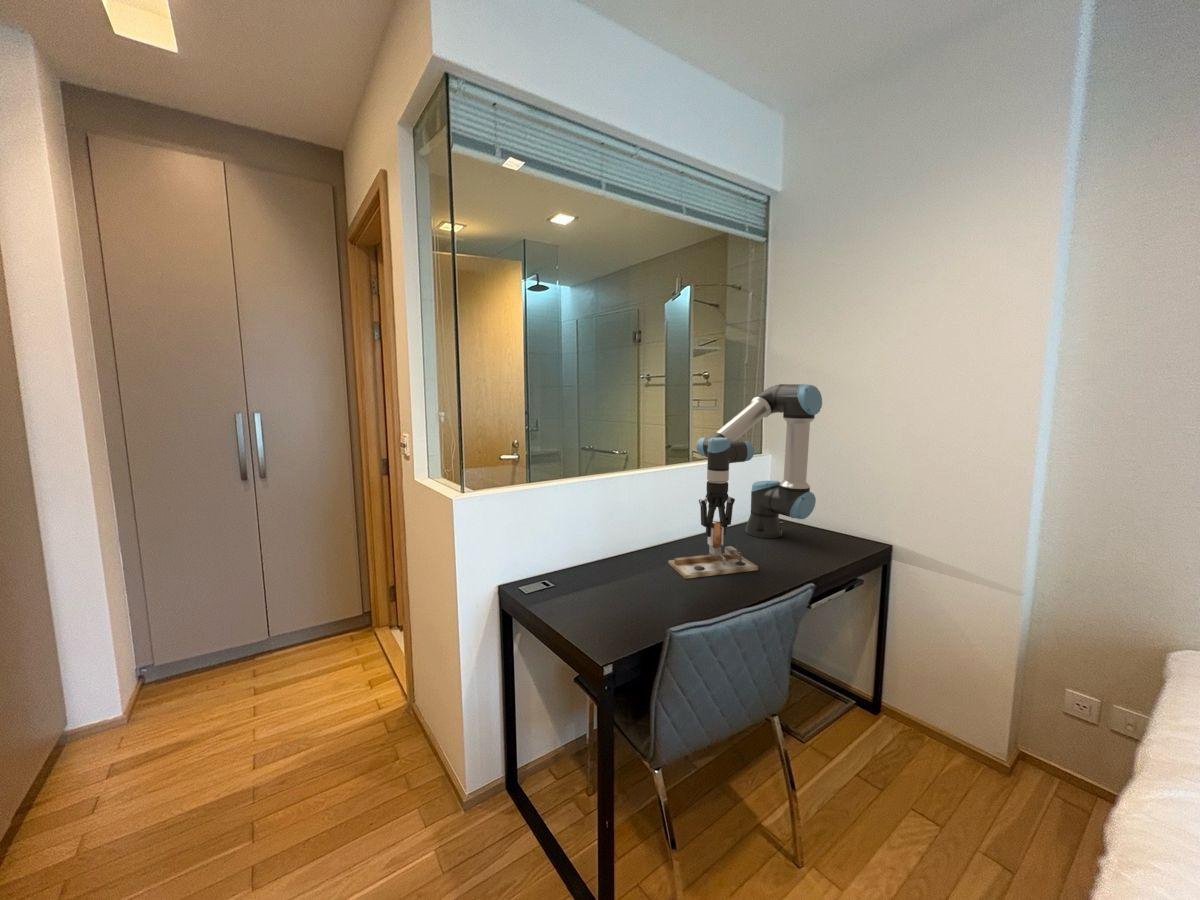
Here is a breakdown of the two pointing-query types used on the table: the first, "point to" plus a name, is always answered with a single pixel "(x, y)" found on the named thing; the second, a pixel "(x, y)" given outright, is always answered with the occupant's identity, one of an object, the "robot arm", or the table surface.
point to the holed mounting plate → (712, 564)
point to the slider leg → (716, 541)
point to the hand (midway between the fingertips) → (715, 544)
